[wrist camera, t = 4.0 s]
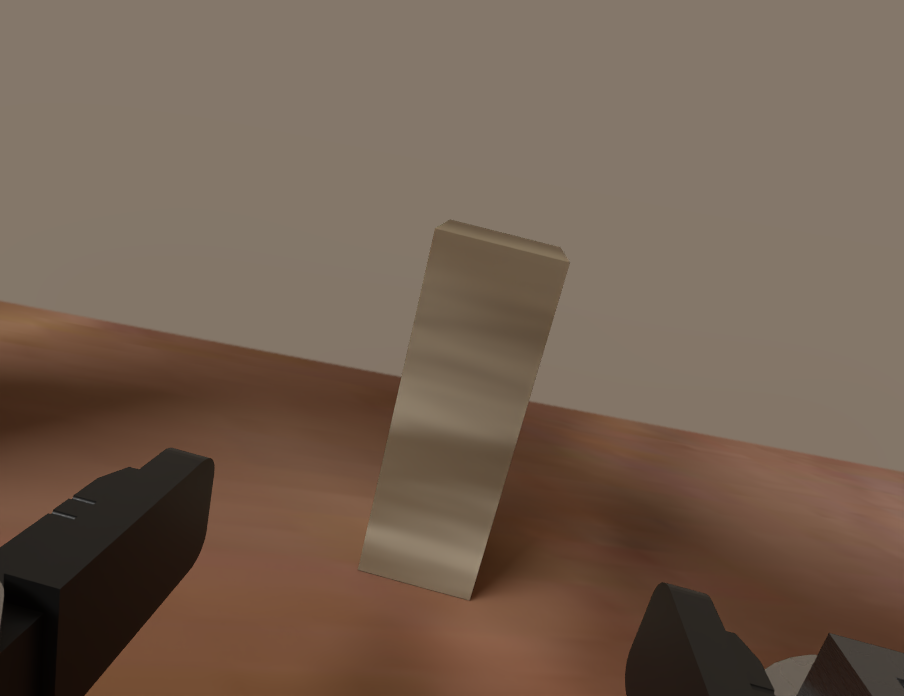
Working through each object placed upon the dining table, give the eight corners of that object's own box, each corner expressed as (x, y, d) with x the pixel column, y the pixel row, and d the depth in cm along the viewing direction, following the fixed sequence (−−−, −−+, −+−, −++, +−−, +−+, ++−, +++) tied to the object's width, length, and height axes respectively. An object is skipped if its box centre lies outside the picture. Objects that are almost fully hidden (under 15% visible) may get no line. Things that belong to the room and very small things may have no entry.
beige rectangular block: (469, 600, 21) (570, 262, 17) (358, 569, 21) (435, 228, 17) (477, 534, 24) (560, 247, 21) (382, 508, 24) (450, 219, 21)
